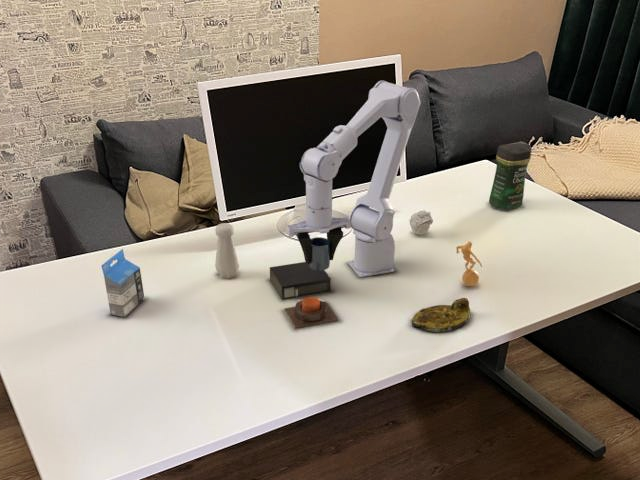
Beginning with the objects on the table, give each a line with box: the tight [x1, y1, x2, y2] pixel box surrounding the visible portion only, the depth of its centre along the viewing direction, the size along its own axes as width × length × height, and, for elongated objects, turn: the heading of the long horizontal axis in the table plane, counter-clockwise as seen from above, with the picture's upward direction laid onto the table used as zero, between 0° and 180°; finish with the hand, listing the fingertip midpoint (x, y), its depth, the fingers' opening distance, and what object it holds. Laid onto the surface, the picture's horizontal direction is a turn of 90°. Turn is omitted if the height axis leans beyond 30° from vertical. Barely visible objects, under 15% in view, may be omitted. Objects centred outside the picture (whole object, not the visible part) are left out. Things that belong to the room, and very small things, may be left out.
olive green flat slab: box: [411, 297, 471, 333], centre depth 162 cm, size 9×5×15 cm
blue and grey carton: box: [101, 248, 145, 318], centre depth 162 cm, size 9×4×12 cm, turn 163°
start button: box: [301, 296, 321, 312], centre depth 162 cm, size 4×4×2 cm
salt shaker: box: [214, 222, 240, 279], centre depth 175 cm, size 6×6×13 cm
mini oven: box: [269, 261, 332, 301], centre depth 174 cm, size 12×11×4 cm
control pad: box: [283, 299, 339, 330], centre depth 163 cm, size 10×8×2 cm
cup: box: [308, 236, 331, 271], centre depth 167 cm, size 5×5×6 cm
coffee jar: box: [488, 141, 532, 211], centre depth 212 cm, size 10×8×19 cm
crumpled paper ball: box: [409, 209, 434, 236], centre depth 198 cm, size 6×7×7 cm
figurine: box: [456, 241, 483, 287], centre depth 173 cm, size 8×6×12 cm
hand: (318, 260), depth 168 cm, fingers closed on cup, 5 cm apart
